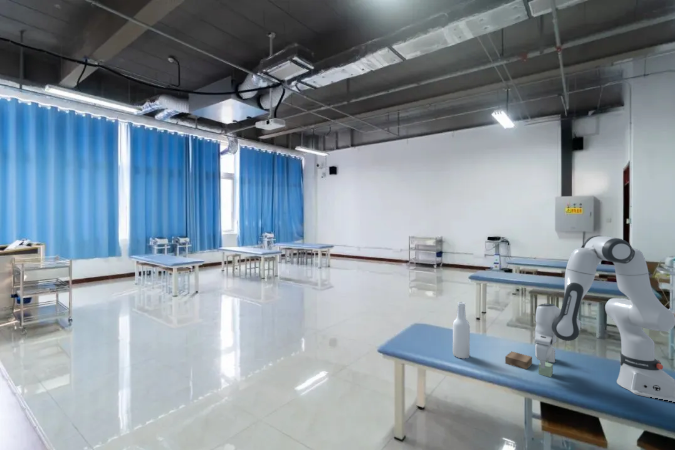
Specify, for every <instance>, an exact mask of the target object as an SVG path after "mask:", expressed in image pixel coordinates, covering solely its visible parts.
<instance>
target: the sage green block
mask: <svg viewBox="0 0 675 450" xmlns="http://www.w3.org/2000/svg"><path fill="white" fill-rule="evenodd" d="M538 374H539V375H541V376H544V377H547V378H551V377H552V376H553V374H554V363H552V362H548V363H547V362H545V368H541V364H540V362H539V363H538Z"/></svg>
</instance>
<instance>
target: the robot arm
mask: <svg viewBox="0 0 675 450" xmlns="http://www.w3.org/2000/svg"><path fill="white" fill-rule="evenodd" d="M602 261H607V262H610V263H611V262H612V263H613V266H614V271H615V277H616V285H617V286H616V287H617V288H618V290H619V292H621V293H622V294H624V295H625V297H627V298H628V299H627V298H621V297H617V298H616V297H612V298H610V299H608V301H607V302H606V303H605V306H604V309H605V313H606V315H607V316H608V317H609V318H611V320H613V322H614V324H615V325H616V328H617V329H618V332H619V335H620V342H621V343H620V344H621V345H620V346H621V351H620V353H619V365H620V369H619V373H618V376H617V379H616V384H617V385H619V386H620V387H622V388H624V389H626V390H628V391H629V392H631V393H633V394H634V395H637V396H642V397H646V398H650V397H652V398H651V399H655V398H658V399H657V400H659V399H663V400H662V401H664V400H668V401H667V402H669V401H672V402H671V403H673V402H675V378H674V377H672V376H671V375H669V374H668V373H667V372H666V371H665V370H663V369H664V366H663V364H662V362H661V361H660V360H657V359H656V358H655V357H656V356H655V353H656V351H655V348H656V347H655V342H654V340H653V339H652V338H651V337H650V336H649V335H648V334H647V333H646V332H645V330H644V329H647V330H650V331H658V332H669V331H671V330H672V329H673V328H674V327H675V314H674V313H673V312H672V310H670V309H668V308H667V307H666V306H665V305H663V304H662V302H661V301H660V300H659V299H658V297H657V296H656V294H655V293H654V291H653V289H652V285H651V280H650V275H649V269H648V268H649V267H648V264H647V261H646V258H645V255H644V254H643V252H642V251H641V250H640V249H638V248H634V247H632V245H631V244H630V242H628V241H626V240H624V239H622V238H617V237H613V236H608V235H607V236H606V235H605V236H604V235H592V236H590V237H588V238H587V239H586V240H585V241H584V243H583V244H582V245H581V247H578V248H574V249H572V252H571V254H570V255H569V258H568V261H567V264H566V269H565V272H564V295H563V300H562V304H561V308H559V307H558V306H556V304H553V303H540V304H539V305H538V306H537V307H536V310H535V324H536V325H535V328H534V343H535V344H536V356H537V357H536V356H535V357H536V359H537V361H539V363H540V364H541V368H545V362H547V363H550V362H549V356H550V354H551V352H552V349H553V348H554V347H553V345H554V344H555V343H557V338H558V339H560V340H562V341H566V342H569V341H570V342H572V341H575V340H576V339H577V338H578V337H579V335H580V331H581V330H580V329H581V328H582V322H581V321H580V318H578V316H579V311H580V307H581V303H582V300H583V299H584V297H585V295H586V294H587V293H588V291H589V290H590V289H591V287H592V285H593V283H594V280H595V277H596V273H597V268H598V266H599V264H600V263H601V262H602Z"/></svg>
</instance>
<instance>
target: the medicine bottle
mask: <svg viewBox="0 0 675 450" xmlns="http://www.w3.org/2000/svg"><path fill="white" fill-rule="evenodd" d="M534 345H535V352H534V353H535V357H536V358H537V356H536V343H535V344H534ZM548 363H556V349H555V347H553V349H552V352H551V354H550V356H549V362H548Z"/></svg>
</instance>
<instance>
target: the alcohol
mask: <svg viewBox="0 0 675 450" xmlns="http://www.w3.org/2000/svg"><path fill="white" fill-rule="evenodd" d="M456 313H457V314H456V317H455V319H454V320H453V323H452V354H453V356H454V357H455V356H456V357H455V358H457V357H458V358H457V359H460V358H462V359H461V360H463V359H464V360H466V359H465V358H467V359H469V357H471V356H470V355H471V354H470V352H471V351H470V350H471V349H470V346H471V345H470V341H471V337H470V336H471V335H470V334H471V333H470V332H471V330H470V329H471V326H470V323H469V321H468V320H467V317H466V316H467V315H466V302H464V301H457V311H456Z"/></svg>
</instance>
